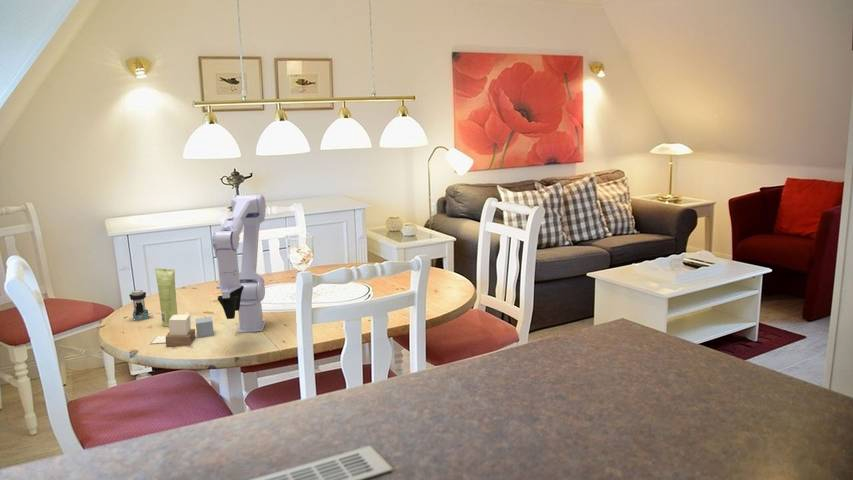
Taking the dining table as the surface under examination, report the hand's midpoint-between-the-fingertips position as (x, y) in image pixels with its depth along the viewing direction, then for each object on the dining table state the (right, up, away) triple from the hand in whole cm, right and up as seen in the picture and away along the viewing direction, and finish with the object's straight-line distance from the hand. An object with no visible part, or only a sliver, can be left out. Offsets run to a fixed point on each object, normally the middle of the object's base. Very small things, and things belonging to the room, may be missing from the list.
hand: (233, 314), depth 200 cm
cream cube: (-18, -6, +6) cm, 20 cm away
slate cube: (-13, -8, +13) cm, 20 cm away
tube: (-28, -6, +23) cm, 37 cm away
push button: (-40, -5, +31) cm, 51 cm away
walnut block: (-18, -9, +6) cm, 21 cm away
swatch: (-24, -9, +9) cm, 27 cm away
